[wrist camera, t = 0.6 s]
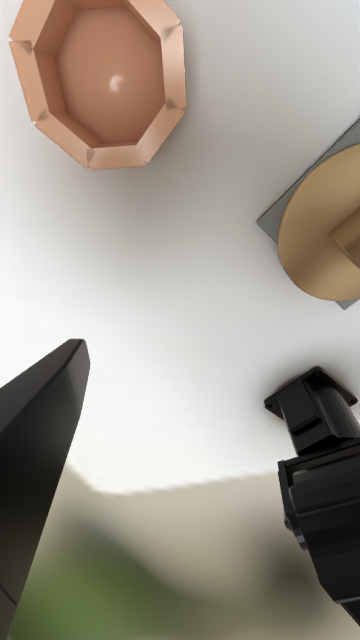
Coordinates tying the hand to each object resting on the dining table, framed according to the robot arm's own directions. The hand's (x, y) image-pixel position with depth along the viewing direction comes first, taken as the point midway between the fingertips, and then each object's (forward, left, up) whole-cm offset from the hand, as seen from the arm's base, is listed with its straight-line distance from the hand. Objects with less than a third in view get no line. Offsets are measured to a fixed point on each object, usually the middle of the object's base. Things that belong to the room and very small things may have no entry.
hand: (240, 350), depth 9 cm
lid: (-8, -6, -13) cm, 16 cm away
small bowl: (+8, -2, -13) cm, 16 cm away
